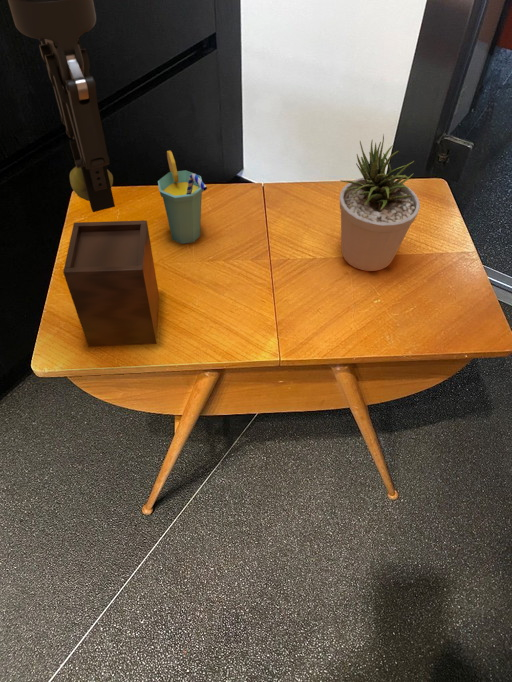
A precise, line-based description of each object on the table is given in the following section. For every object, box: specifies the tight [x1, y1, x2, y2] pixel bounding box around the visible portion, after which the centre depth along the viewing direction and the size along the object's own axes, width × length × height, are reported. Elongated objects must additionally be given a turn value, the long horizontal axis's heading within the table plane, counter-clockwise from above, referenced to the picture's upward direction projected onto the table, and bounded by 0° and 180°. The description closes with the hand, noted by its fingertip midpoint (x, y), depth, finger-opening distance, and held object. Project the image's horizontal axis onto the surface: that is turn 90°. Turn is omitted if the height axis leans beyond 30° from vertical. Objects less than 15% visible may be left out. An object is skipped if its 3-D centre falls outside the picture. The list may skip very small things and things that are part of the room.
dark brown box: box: [63, 220, 160, 348], centre depth 78 cm, size 10×10×15 cm
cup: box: [157, 150, 208, 245], centre depth 91 cm, size 14×8×15 cm, turn 36°
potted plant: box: [339, 133, 421, 272], centre depth 88 cm, size 13×14×20 cm
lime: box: [69, 166, 114, 202], centre depth 66 cm, size 4×5×5 cm
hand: (97, 196), depth 67 cm, fingers closed on lime, 4 cm apart
